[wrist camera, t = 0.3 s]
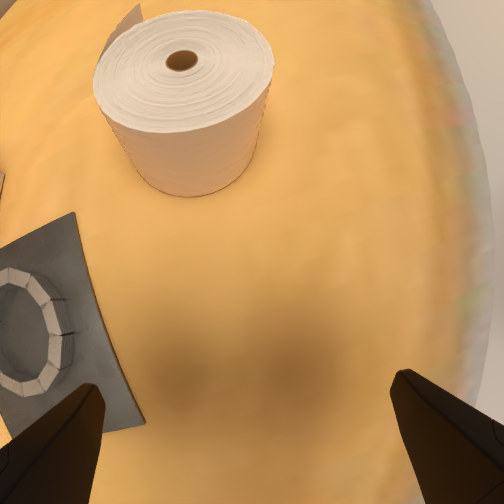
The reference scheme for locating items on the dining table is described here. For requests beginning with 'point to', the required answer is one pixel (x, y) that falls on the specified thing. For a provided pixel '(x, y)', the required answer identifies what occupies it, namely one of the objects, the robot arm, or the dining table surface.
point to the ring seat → (54, 331)
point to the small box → (1, 180)
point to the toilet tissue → (185, 96)
